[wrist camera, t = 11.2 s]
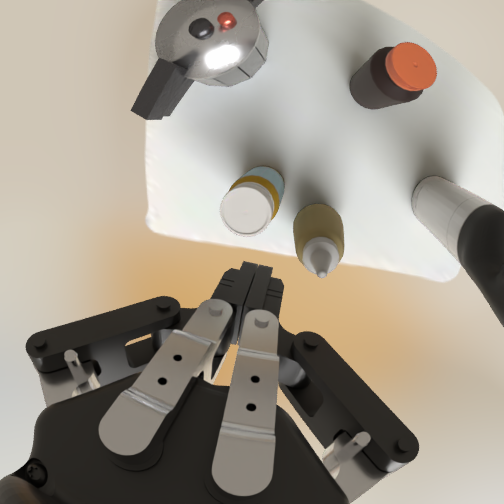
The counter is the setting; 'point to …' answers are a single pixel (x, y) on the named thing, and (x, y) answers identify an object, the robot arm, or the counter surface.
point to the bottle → (252, 201)
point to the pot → (232, 77)
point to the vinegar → (393, 76)
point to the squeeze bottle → (319, 238)
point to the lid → (197, 48)
